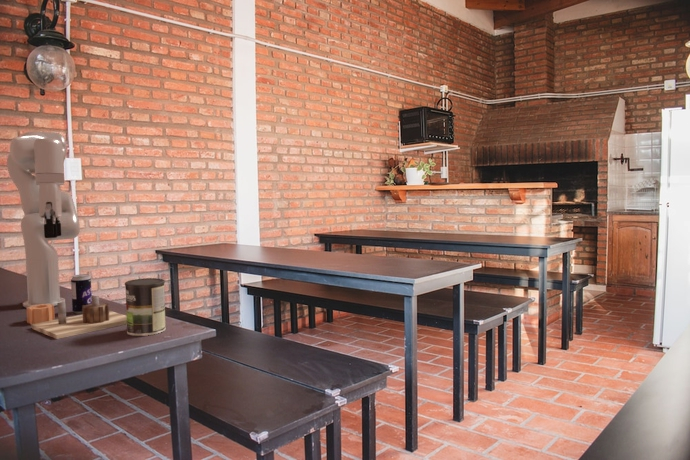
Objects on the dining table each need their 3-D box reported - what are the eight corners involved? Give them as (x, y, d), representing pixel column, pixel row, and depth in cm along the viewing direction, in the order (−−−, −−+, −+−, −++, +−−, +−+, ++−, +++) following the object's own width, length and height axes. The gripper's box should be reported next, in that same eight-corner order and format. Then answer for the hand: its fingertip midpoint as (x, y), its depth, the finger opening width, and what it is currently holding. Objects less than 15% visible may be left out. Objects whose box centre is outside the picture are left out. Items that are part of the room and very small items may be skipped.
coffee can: (133, 338, 136) (131, 286, 134) (121, 330, 143) (119, 280, 142) (171, 331, 142) (170, 281, 141) (158, 324, 150) (156, 276, 149)
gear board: (31, 328, 146) (29, 299, 145) (107, 313, 163) (106, 287, 162) (56, 339, 135) (55, 307, 135) (135, 322, 152) (134, 294, 152)
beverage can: (84, 314, 162) (82, 277, 161) (68, 313, 163) (66, 276, 162) (96, 310, 167) (94, 274, 166) (81, 309, 168) (79, 273, 168)
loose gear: (21, 323, 151) (20, 308, 151) (41, 317, 158) (41, 303, 158) (40, 325, 149) (39, 310, 149) (60, 319, 156) (59, 304, 156)
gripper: (40, 181, 160) (43, 236, 161) (30, 178, 144) (33, 239, 145) (67, 181, 163) (70, 234, 164) (60, 178, 147) (63, 237, 148)
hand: (53, 236), depth 155 cm, fingers open, 9 cm apart
